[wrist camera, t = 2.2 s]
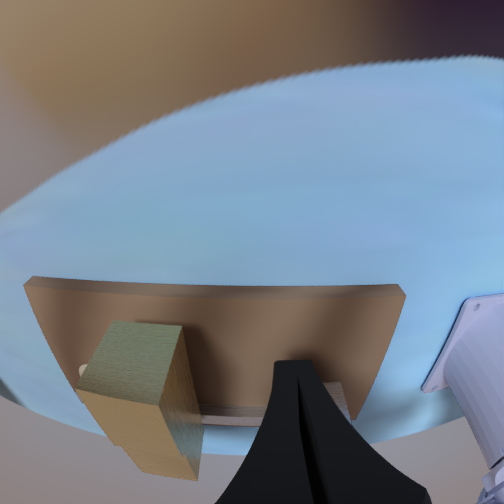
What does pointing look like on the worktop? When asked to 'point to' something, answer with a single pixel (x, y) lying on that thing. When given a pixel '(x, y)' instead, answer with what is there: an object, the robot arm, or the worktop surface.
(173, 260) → the worktop surface
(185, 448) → the divider leg
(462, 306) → the robot arm
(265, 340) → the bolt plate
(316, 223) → the worktop surface
